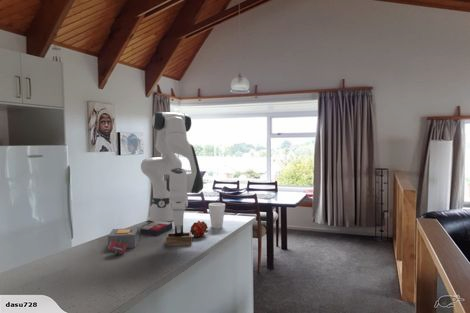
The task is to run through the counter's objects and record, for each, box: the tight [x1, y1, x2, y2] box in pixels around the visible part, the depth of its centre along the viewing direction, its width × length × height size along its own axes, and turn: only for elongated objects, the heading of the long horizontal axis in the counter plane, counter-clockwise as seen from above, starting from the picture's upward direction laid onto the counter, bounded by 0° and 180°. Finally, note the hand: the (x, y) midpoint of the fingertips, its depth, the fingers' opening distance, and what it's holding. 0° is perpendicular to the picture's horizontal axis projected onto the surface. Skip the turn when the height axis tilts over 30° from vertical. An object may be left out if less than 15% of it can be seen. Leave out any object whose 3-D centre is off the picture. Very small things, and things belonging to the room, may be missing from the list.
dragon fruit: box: [189, 220, 209, 238], centre depth 177 cm, size 8×8×12 cm
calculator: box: [139, 221, 173, 237], centre depth 188 cm, size 11×4×15 cm
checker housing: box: [107, 227, 139, 250], centre depth 164 cm, size 12×12×6 cm
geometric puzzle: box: [108, 239, 128, 257], centre depth 150 cm, size 7×7×8 cm
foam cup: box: [208, 202, 226, 229], centre depth 196 cm, size 10×9×13 cm
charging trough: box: [165, 231, 193, 247], centre depth 166 cm, size 8×12×4 cm, turn 98°
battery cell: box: [174, 224, 184, 237], centre depth 166 cm, size 4×4×10 cm
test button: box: [116, 228, 131, 234], centre depth 164 cm, size 6×6×3 cm
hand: (178, 231), depth 166 cm, fingers closed on battery cell, 4 cm apart
